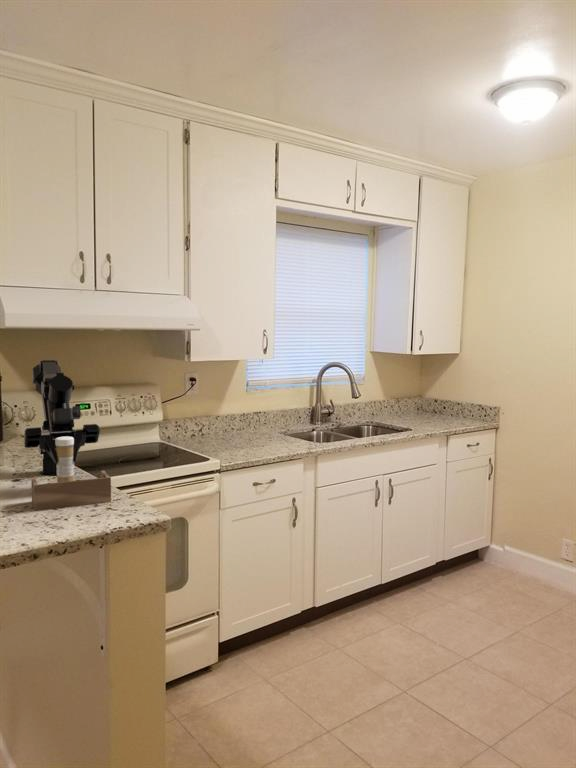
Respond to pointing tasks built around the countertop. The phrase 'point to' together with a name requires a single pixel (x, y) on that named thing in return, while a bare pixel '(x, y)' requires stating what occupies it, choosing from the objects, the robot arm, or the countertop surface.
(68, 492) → the walnut crate
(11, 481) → the countertop surface
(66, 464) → the sprinkles bottle
